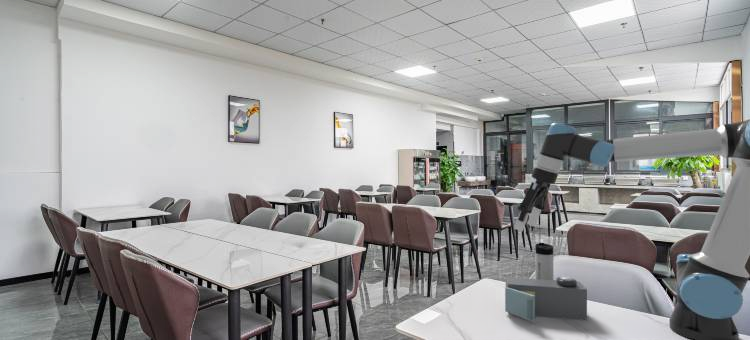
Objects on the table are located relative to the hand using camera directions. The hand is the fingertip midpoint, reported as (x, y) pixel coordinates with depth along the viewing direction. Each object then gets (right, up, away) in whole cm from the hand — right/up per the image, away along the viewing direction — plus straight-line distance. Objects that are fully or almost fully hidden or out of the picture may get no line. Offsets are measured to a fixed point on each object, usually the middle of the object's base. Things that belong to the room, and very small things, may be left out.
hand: (524, 227), depth 124 cm
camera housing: (+6, -29, -1) cm, 29 cm away
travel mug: (+13, -29, +13) cm, 34 cm away
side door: (-5, -28, -7) cm, 29 cm away
